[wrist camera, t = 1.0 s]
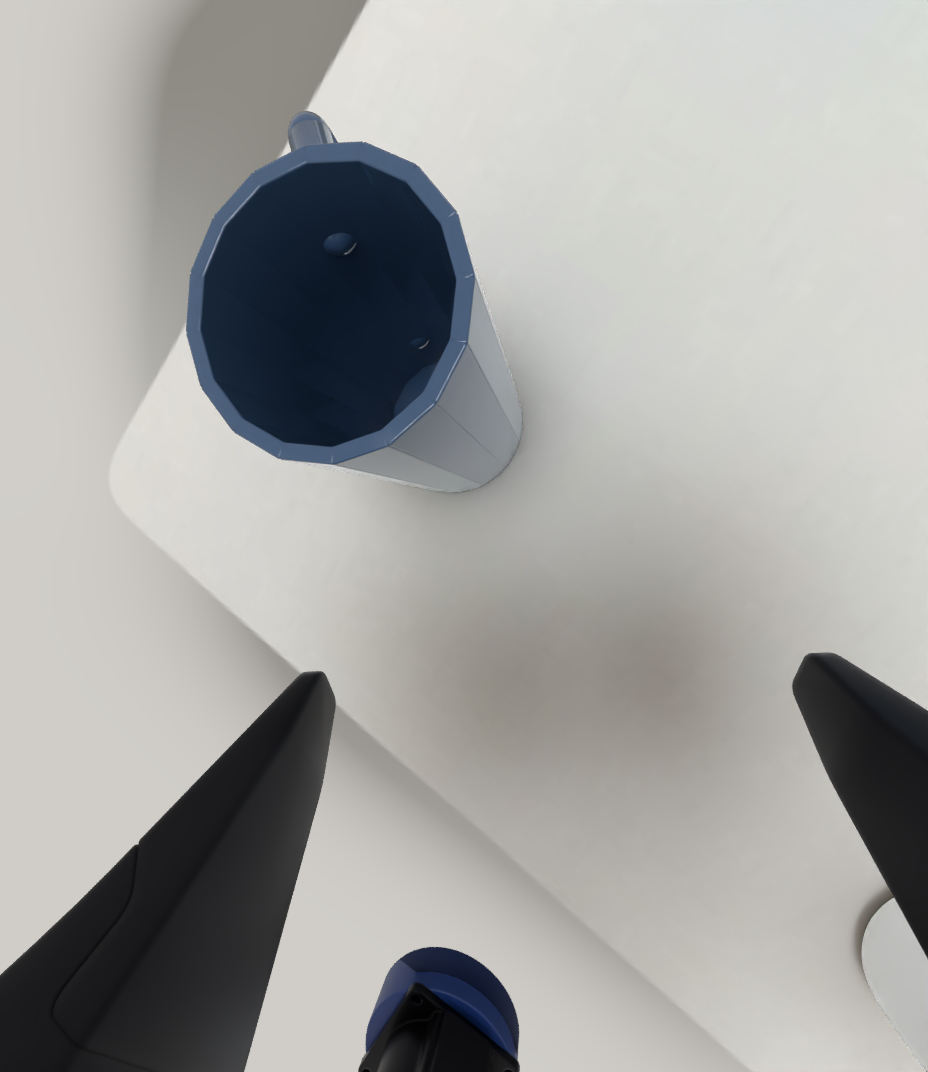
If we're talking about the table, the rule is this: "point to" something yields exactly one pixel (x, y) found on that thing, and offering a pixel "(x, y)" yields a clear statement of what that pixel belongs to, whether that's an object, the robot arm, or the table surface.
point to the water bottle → (898, 976)
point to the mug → (352, 320)
